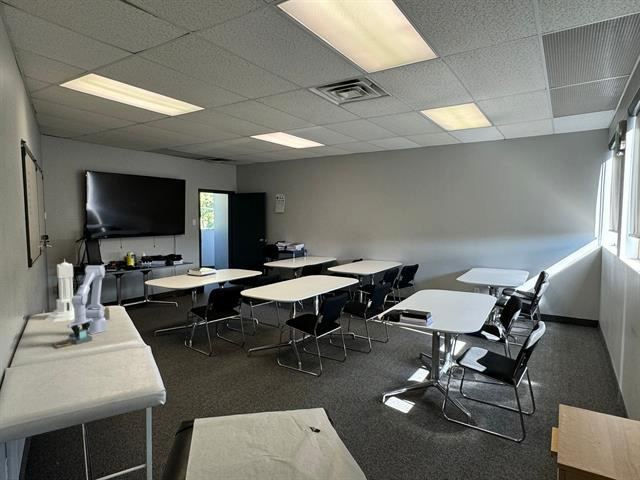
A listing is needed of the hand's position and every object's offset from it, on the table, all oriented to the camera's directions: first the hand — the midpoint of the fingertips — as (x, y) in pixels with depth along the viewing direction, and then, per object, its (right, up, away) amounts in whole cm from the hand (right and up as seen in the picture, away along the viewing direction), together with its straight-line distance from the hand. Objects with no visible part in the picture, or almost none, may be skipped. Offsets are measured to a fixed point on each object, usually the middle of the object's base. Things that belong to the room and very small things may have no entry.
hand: (81, 336), depth 221 cm
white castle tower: (-46, +1, +53) cm, 71 cm away
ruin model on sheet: (-15, -1, +44) cm, 46 cm away
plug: (0, -1, 0) cm, 1 cm away
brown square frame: (-6, -3, -8) cm, 10 cm away
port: (-1, -3, +1) cm, 3 cm away
